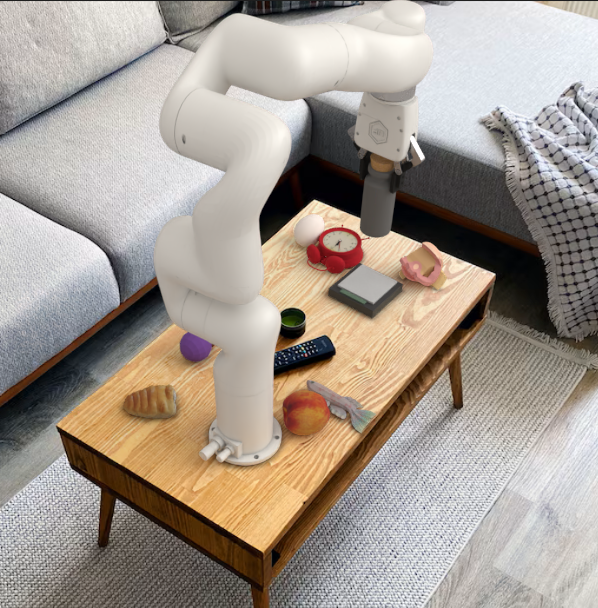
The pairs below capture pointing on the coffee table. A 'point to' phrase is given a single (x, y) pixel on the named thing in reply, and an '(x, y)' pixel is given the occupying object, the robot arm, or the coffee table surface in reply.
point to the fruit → (305, 412)
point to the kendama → (194, 347)
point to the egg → (309, 230)
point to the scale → (365, 290)
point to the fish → (342, 405)
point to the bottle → (377, 198)
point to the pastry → (152, 402)
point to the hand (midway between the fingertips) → (380, 182)
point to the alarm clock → (336, 250)
